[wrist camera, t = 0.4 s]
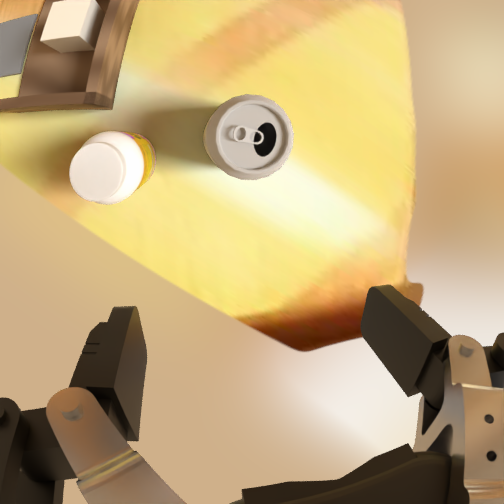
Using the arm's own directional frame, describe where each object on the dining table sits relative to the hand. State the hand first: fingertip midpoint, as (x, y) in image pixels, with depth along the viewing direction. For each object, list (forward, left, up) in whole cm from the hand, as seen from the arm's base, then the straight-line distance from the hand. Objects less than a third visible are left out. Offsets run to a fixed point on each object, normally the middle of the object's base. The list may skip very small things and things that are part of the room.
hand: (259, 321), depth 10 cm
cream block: (-18, -19, -27) cm, 38 cm away
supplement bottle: (-2, -10, -28) cm, 30 cm away
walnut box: (-18, -20, -27) cm, 39 cm away
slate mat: (-18, -33, -27) cm, 46 cm away
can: (-6, +2, -28) cm, 28 cm away
